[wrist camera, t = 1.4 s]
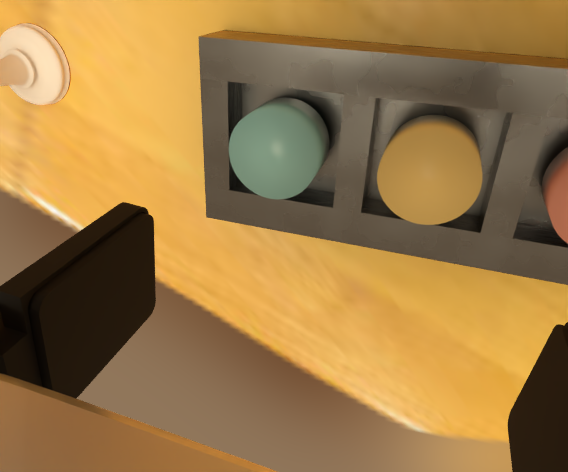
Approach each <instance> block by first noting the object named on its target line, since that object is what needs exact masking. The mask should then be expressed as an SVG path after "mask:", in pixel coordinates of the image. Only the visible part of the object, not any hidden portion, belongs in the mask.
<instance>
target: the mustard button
mask: <svg viewBox="0 0 568 472" xmlns="http://www.w3.org/2000/svg"><path fill="white" fill-rule="evenodd" d="M377 184H378V189H379V192H380V195H381V197H382V199H383V201H384V202H385V204H386V205H387V206H388V207H389V209H390V210H391V211H393V212H394V213H395V214H396V215H398V216H399V217H401V218H403V219H405V220H407V221H410V222H412V223H417V224H423V225H435V224H441V223H446V222H448V221H451V220H453V219H455V218H457V217H459V216H460V215H462V214H463V213H465V212H466V211H467V210H468V209H469V208H470V207H471V206H472V205H473V203H474V202H475V200H476V199H477V197H478V195H479V192H480V189H481V185H482V166H481V157H480V149H479V145H478V143H477V140H476V138H475V137H474V135H473V133H472V132H471V131H470V130H469V129H468V128H467V127H466V126H465V125H464V124H462V123H461V122H459V121H457V120H455V119H453V118H450V117H447V116H442V115H425V116H420V117H417V118H414V119H412V120H410V121H408V122H406V123H405V124H403V125H402V126H401V127H400V128H398V129H397V131H396V132H395V133H394V134H393V135H392V137H391V138H390V140H389V142H388V144H387V146H386V149H385V151H384V154H383V156H382V159H381V161H380V164H379V167H378V172H377Z"/></svg>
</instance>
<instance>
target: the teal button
mask: <svg viewBox="0 0 568 472" xmlns="http://www.w3.org/2000/svg"><path fill="white" fill-rule="evenodd" d="M328 152H329V134H328V130H327V127H326V125H325V123H324V121H323V119H322V118H321V116H320V115H319V114H318V113H317V111H316V110H315V109H313V108H312V107H311V106H310V105H308V104H307V103H305V102H303V101H301V100H298V99H294V98H287V97H282V98H276V99H272V100H270V101H267V102H266V103H264V104H263V105H261V106H260V107H258V108H257V109H255V110H254V111H252V112H251V113H249V114H248V115H246V116H245V117H244V118H243V119H241V120H240V121H239V122H238V124H237V125H236V126H235V128H234V130H233V132H232V134H231V137H230V141H229V157H230V162H231V165H232V168H233V170H234V172H235V174H236V175H237V177H238V178H239V179H240V181H241V182H242V183H243V184H244V185H245V186H246V187H247V188H248V189H250V190H251V191H253V192H254V193H256V194H258V195H260V196H263V197H265V198H270V199H287V198H290V197H293V196H295V195H298V194H299V193H301V192H302V191H303V190H304V189H306V188H307V186H308V185H309V184H310V183H311V181H312V180H313V178H314V177H315V175H316V174H317V173H318V171H319V170H320V168H321V167H322V165H323V164H324V162H325V160H326V158H327V155H328Z"/></svg>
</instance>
